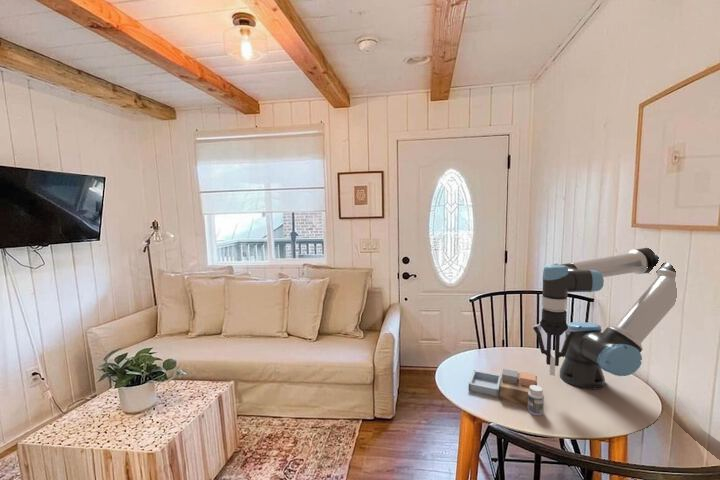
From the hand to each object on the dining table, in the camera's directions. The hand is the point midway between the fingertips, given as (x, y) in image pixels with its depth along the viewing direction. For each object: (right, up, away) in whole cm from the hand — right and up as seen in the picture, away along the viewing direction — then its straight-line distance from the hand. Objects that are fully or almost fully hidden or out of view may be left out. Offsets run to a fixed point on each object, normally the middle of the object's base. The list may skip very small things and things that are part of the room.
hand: (552, 373), depth 119 cm
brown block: (-9, -10, +6) cm, 15 cm away
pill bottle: (-9, -11, -5) cm, 15 cm away
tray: (-20, -10, +11) cm, 25 cm away
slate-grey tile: (-12, -5, +7) cm, 15 cm away
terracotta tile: (-7, -5, +4) cm, 9 cm away
